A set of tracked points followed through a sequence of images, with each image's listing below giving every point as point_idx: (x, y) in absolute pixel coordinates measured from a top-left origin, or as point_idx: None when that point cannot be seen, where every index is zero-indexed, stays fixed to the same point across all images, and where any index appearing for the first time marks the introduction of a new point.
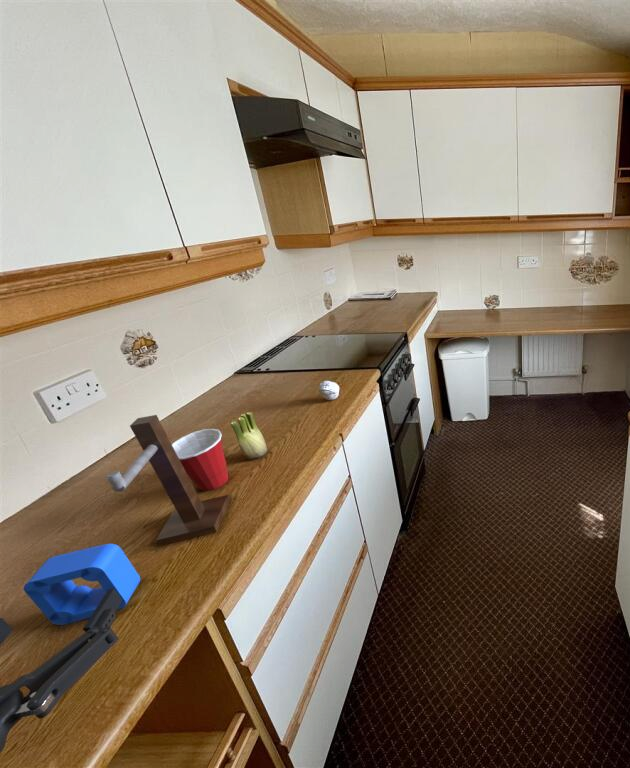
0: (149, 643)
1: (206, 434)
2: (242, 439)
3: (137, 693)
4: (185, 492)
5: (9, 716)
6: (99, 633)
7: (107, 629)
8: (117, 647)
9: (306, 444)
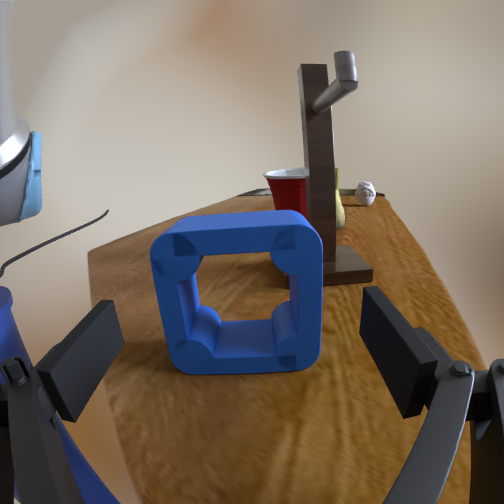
0: None
1: (298, 174)
2: None
3: None
4: (335, 202)
5: None
6: (499, 376)
7: None
8: (373, 450)
9: (385, 225)
